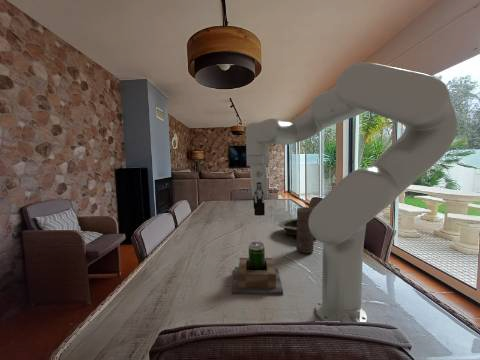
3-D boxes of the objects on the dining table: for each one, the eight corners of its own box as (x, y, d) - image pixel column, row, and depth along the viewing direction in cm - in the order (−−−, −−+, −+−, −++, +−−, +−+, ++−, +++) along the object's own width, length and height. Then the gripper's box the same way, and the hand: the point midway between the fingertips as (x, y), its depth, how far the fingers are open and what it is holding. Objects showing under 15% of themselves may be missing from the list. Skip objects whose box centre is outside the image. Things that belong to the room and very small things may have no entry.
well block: (283, 294, 71) (283, 277, 71) (231, 293, 72) (231, 277, 72) (277, 269, 87) (277, 255, 87) (235, 269, 88) (234, 255, 88)
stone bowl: (333, 242, 114) (332, 224, 113) (282, 246, 115) (281, 228, 114) (317, 226, 138) (316, 211, 137) (275, 230, 139) (274, 215, 138)
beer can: (268, 277, 80) (267, 243, 79) (258, 283, 76) (257, 248, 75) (255, 272, 83) (255, 240, 82) (246, 278, 80) (245, 244, 78)
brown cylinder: (314, 255, 99) (314, 210, 97) (296, 254, 101) (296, 209, 99) (312, 249, 107) (312, 206, 105) (296, 248, 108) (296, 205, 106)
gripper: (272, 161, 68) (272, 218, 70) (266, 160, 85) (267, 206, 87) (246, 161, 68) (247, 218, 70) (246, 161, 86) (247, 206, 87)
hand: (258, 211), depth 78 cm, fingers open, 9 cm apart
